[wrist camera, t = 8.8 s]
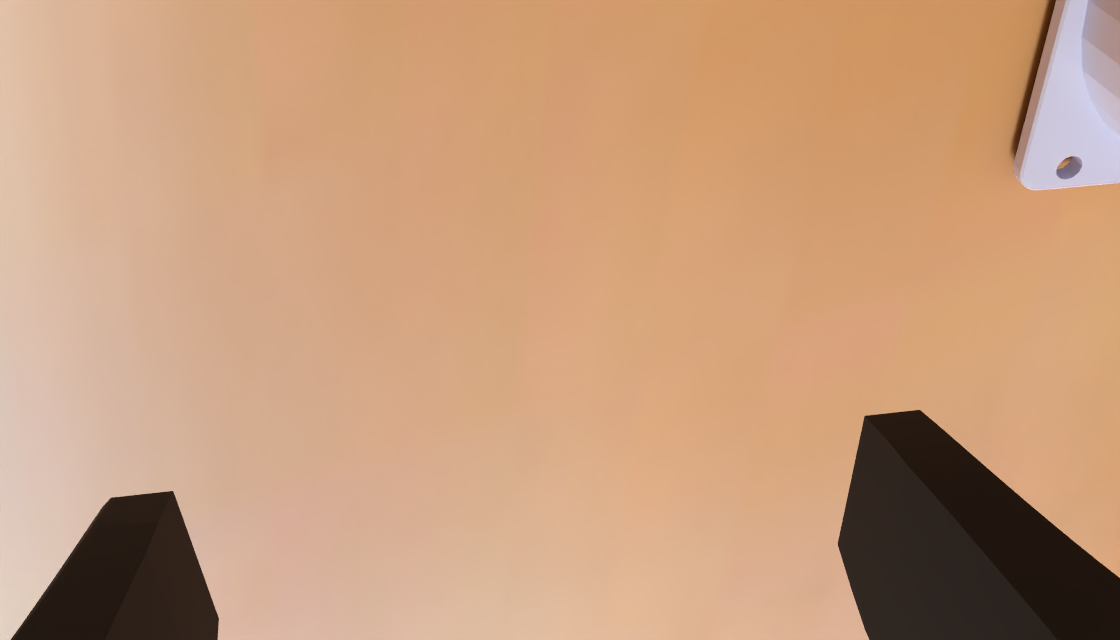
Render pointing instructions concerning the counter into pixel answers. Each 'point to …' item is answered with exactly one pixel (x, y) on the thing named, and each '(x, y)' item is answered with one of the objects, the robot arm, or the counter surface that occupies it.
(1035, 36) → the counter surface
